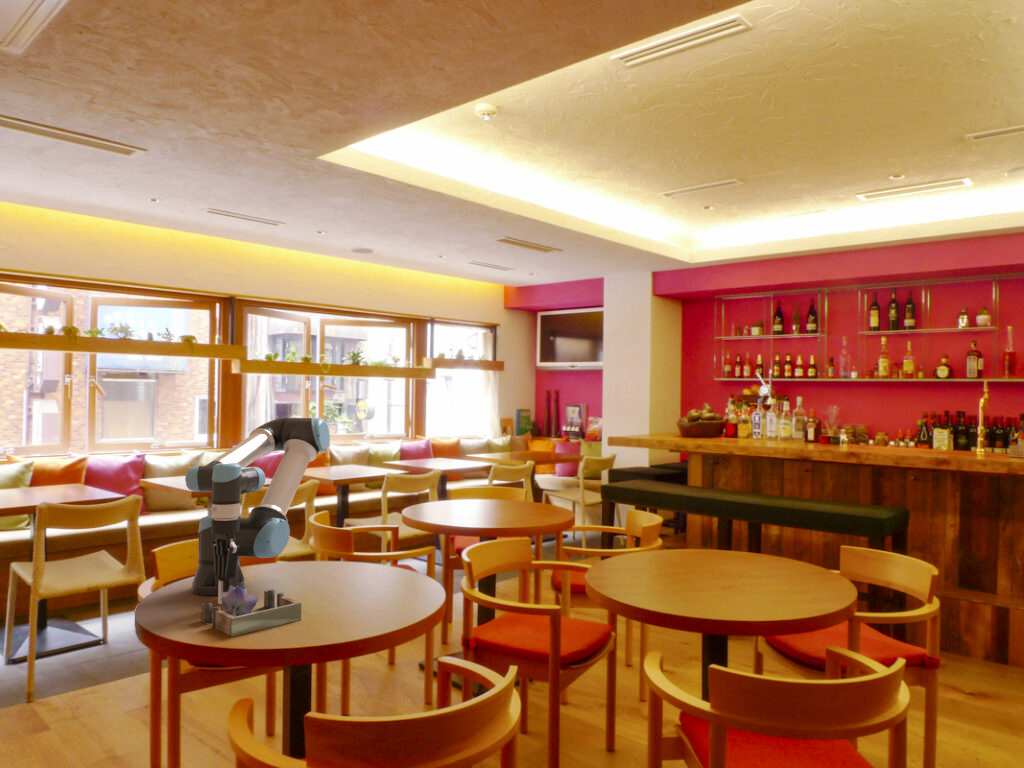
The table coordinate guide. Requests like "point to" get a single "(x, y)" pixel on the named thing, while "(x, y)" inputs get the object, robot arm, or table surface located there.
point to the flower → (238, 601)
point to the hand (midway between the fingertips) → (223, 602)
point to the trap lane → (254, 615)
